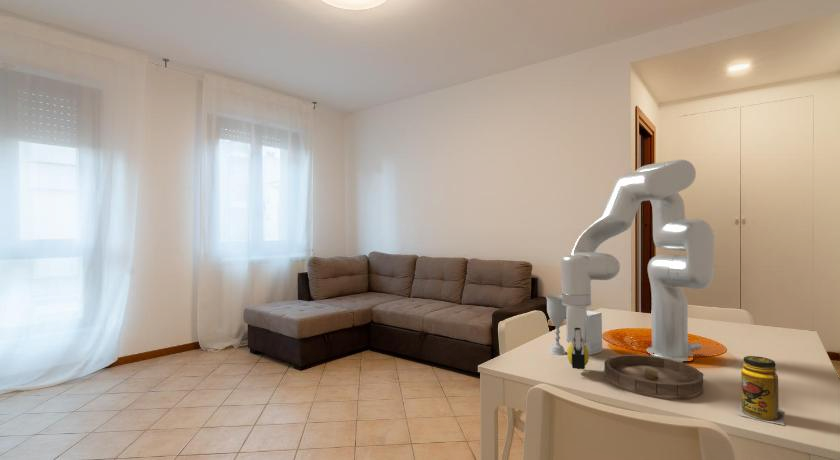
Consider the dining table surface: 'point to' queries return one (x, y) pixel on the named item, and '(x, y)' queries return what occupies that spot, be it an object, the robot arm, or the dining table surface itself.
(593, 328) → the supplement box
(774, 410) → the condiment
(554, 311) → the chalice
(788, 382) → the dining table surface
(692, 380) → the groove tray
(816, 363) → the dining table surface
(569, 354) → the lemon
